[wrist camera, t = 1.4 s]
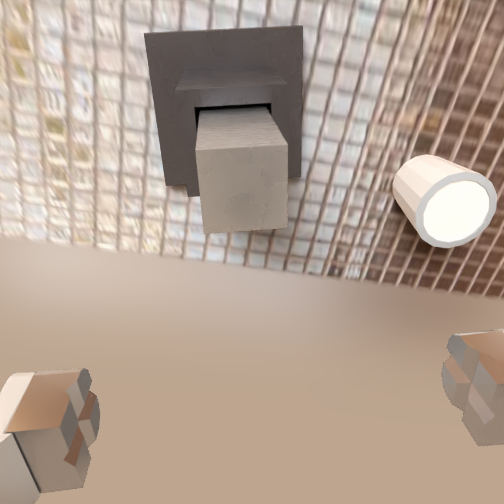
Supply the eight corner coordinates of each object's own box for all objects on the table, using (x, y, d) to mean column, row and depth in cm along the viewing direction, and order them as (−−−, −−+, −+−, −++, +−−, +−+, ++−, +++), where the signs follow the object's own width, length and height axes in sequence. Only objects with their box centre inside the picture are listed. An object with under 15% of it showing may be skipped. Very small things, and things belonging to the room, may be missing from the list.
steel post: (253, 84, 35) (288, 143, 19) (255, 136, 37) (288, 228, 21) (201, 87, 34) (194, 149, 19) (206, 138, 36) (203, 234, 21)
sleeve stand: (299, 25, 34) (338, 30, 24) (297, 171, 40) (328, 227, 30) (146, 32, 34) (116, 41, 23) (167, 180, 40) (151, 240, 29)
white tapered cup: (430, 224, 44) (466, 258, 38) (373, 203, 42) (400, 235, 36) (470, 162, 41) (515, 188, 35) (409, 136, 40) (446, 159, 33)
